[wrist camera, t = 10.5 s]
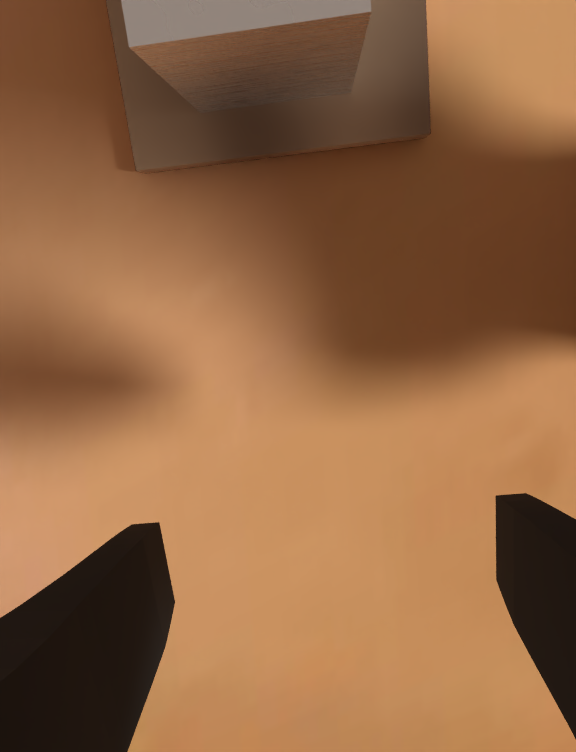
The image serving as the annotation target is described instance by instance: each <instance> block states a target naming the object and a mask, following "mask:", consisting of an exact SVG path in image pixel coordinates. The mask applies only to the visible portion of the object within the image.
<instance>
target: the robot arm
mask: <svg viewBox="0 0 576 752" xmlns="http://www.w3.org/2000/svg"><path fill="white" fill-rule="evenodd" d="M496 580H497V583H498V585H499V588H500V591H501V593H502V596H503V599H504V601H505V604H506V607H507V609H508V612H509V614H510V617H511V619H512V621H513V624H514V626H515V628H516V630H517V632H518V634H519V635H520V637H521V639H522V641H523V643H524V645H525V647H526V648H527V650H528V652H529V654H530V656H531V658H532V660H533V661H534V663H535V665H536V667H537V669H538V671H539V672H540V674H541V676H542V678H543V680H544V681H545V683H546V685H547V687H548V689H549V691H550V692H551V694H552V696H553V698H554V700H555V701H556V703H557V705H558V707H559V709H560V711H561V712H562V714H563V716H564V718H565V720H566V722H567V723H568V725H569V727H570V729H571V731H572V733H573V735H574V737H575V739H576V519H574V518H572V517H570V516H569V515H567V514H565V513H563V512H561V511H559V510H558V509H556V508H554V507H552V506H550V505H548V504H547V503H545V502H543V501H541V500H539V499H537V498H535V497H533V496H531V495H528V494H526V493H523V494H511V495H498V496H496ZM174 604H175V600H174V595H173V590H172V585H171V580H170V575H169V570H168V565H167V559H166V554H165V549H164V544H163V539H162V534H161V529H160V524H159V522H158V523H145V524H133V525H131V526H129V527H127V528H126V529H124V530H123V531H121V532H120V533H118V534H117V535H116V536H114V537H113V538H112V539H110V540H109V541H108V542H106V543H105V544H104V545H102V546H101V547H100V548H98V549H97V550H96V551H94V552H93V553H92V554H90V555H89V556H88V557H87V558H85V559H84V560H83V561H81V562H80V563H79V564H77V565H76V566H75V567H73V568H72V569H71V570H69V571H68V572H67V573H65V574H64V575H63V576H61V577H60V578H58V579H57V580H56V581H54V582H53V583H51V584H50V585H48V586H47V587H46V588H44V589H43V590H41V591H40V592H38V593H37V594H36V595H34V596H33V597H31V598H30V599H29V600H27V601H26V602H24V603H23V604H21V605H20V606H18V607H17V608H15V609H14V610H12V611H11V612H9V613H7V614H6V615H4V616H3V617H1V618H0V752H127V751H128V748H129V746H130V743H131V740H132V737H133V735H134V732H135V729H136V726H137V724H138V721H139V718H140V716H141V713H142V710H143V707H144V705H145V702H146V699H147V696H148V694H149V691H150V688H151V685H152V683H153V680H154V677H155V674H156V672H157V669H158V666H159V663H160V660H161V657H162V655H163V652H164V649H165V645H166V641H167V637H168V633H169V628H170V624H171V619H172V614H173V609H174Z"/></svg>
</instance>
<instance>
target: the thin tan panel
mask: <svg viewBox="0 0 576 752" xmlns="http://www.w3.org/2000/svg"><path fill="white" fill-rule="evenodd" d="M106 4H107V10H108V15H109V21H110V27H111V32H112V38H113V44H114V49H115V55H116V60H117V66H118V72H119V77H120V83H121V89H122V94H123V100H124V106H125V111H126V117H127V123H128V128H129V134H130V140H131V145H132V151H133V157H134V162H135V168H136V171H138V172H142V173H152V172H159V171H167V170H175V169H183V168H191V167H199V166H207V165H215V164H223V163H230V162H238V161H246V160H254V159H262V158H270V157H278V156H286V155H294V154H301V153H309V152H317V151H325V150H333V149H341V148H349V147H357V146H365V145H372V144H380V143H388V142H396V141H404V140H412V139H420V138H425V137H427V136H428V135H429V134H430V133H431V129H430V102H429V74H428V47H427V19H426V0H371V15H370V19H369V23H368V27H367V31H366V35H365V39H364V43H363V47H362V51H361V55H360V59H359V63H358V67H357V71H356V75H355V79H354V83H353V87H352V91H351V93H344V94H337V95H330V96H322V97H315V98H307V99H300V100H293V101H285V102H278V103H270V104H263V105H256V106H248V107H241V108H233V109H226V110H219V111H211V112H204V113H200V112H199V111H198V110H197V109H196V108H195V107H193V106H192V105H191V104H190V103H189V102H188V101H187V100H186V99H185V98H184V97H183V96H181V95H180V94H179V93H178V92H177V91H176V90H175V89H174V88H173V87H172V86H171V85H170V84H168V83H167V82H166V81H165V80H164V79H163V78H162V77H161V76H160V75H159V74H158V73H156V72H155V71H154V70H153V69H152V68H151V67H150V66H149V65H148V64H147V63H146V62H145V61H143V60H142V59H141V58H140V57H139V56H138V55H137V54H136V53H135V52H134V51H133V50H131V49H130V48H129V44H128V38H127V32H126V26H125V20H124V14H123V9H122V3H121V0H106Z"/></svg>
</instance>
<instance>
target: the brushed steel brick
mask: <svg viewBox="0 0 576 752" xmlns="http://www.w3.org/2000/svg"><path fill="white" fill-rule="evenodd" d="M121 3H122V9H123V14H124V20H125V26H126V32H127V38H128V44H129V48H130V49H131V50H133V51H134V52H135V53H136V54H137V55H138V56H139V57H140V58H141V59H142V60H143V61H145V62H146V63H147V64H148V65H149V66H150V67H151V68H152V69H153V70H154V71H155V72H156V73H158V74H159V75H160V76H161V77H162V78H163V79H164V80H165V81H166V82H167V83H168V84H170V85H171V86H172V87H173V88H174V89H175V90H176V91H177V92H178V93H179V94H180V95H181V96H183V97H184V98H185V99H186V100H187V101H188V102H189V103H190V104H191V105H192V106H193V107H195V108H196V109H197V110H198V111H199V112H200V113H204V112H211V111H219V110H226V109H233V108H241V107H248V106H256V105H263V104H270V103H278V102H285V101H293V100H300V99H307V98H315V97H322V96H330V95H337V94H344V93H351V91H352V87H353V83H354V79H355V75H356V71H357V67H358V63H359V59H360V55H361V51H362V47H363V43H364V39H365V35H366V31H367V27H368V23H369V19H370V15H371V0H121Z"/></svg>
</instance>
